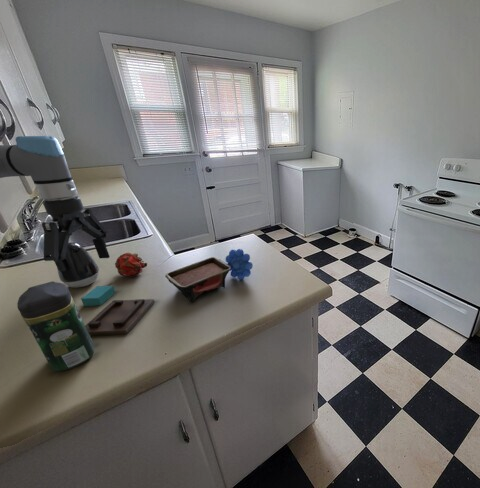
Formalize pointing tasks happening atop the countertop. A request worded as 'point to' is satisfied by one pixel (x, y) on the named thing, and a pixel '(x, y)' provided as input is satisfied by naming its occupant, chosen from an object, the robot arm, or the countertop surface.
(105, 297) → the pad
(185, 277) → the rectangular planter
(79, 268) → the black rounded piece
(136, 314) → the back plate
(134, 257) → the dragon fruit
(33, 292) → the coffee jar
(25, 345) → the countertop surface
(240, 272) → the blue lumpy round piece
